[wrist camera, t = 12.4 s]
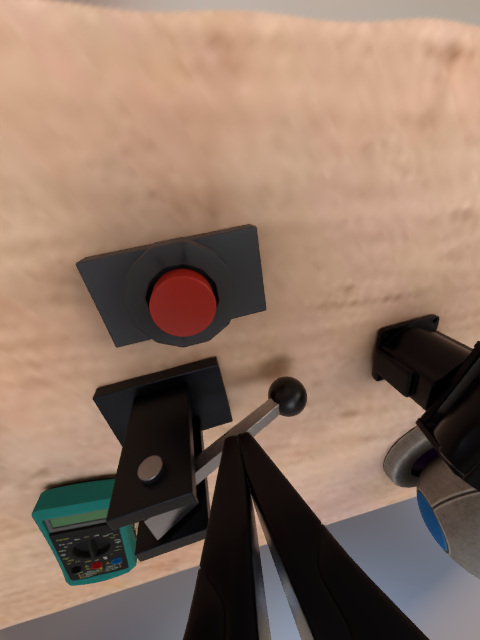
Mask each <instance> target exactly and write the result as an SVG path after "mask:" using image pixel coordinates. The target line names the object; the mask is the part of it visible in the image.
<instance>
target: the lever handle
mask: <svg viewBox="0 0 480 640" xmlns="http://www.w3.org/2000/svg"><path fill="white" fill-rule="evenodd" d="M268 399H269V400H267V401H266V402H265V403H264V404H262V405H261V406H260V407H258V408H257V409H256V410H255V411H253V412H252V413H251V414H250V415H248V416H247V417H246V418H244V419H243V420H242V421H241V422H239V423H238V424H237V425H236V426H234V427H233V428H232V429H230V430H229V431H228V432H227V433H225V434H224V435H223V436H222V437H220V438H219V439H218V440H216V441H215V442H214V443H213V444H211V445H210V446H209V447H208V448H206V449H205V450H204V451H202V452H201V453H200V454H199V455H197V456H196V457H195V458H194V462H195V479H196V485H198V484H199V483H200V482H201V481H202V480H203V479H205V478H206V477H207V476H208V475H209V474H210V473H212V472H213V471H214V470H215V469H216V468H217V467H219V465H220V460H221V455H222V450H223V445H224V440H225V438H226V437H229V436H232V435H236V436H237V435H238V434H239V433H242V432H246V431H248V432H249V433H250V434H251V435H252V436H253V437H254V436H255V435H256V434H257V433H258V432H260V431H261V430H262V429H263V428H264V427H265V426H267V425H268V424H269V423H270V422H271V421H272V420H274V419H275V418H276V417H277V416H278V415H282V416H287V417H291V416H295V415H297V414H299V413H300V412H301V411H302V410H303V409H304V408H305V406H306V403H307V393H306V390H305V388H304V386H303V385H302V383H301V382H300V381H298V380H297V379H295V378H292V377H281V378H278V379H276V380H275V381H274V382H273V383H272V384H271V386H270V388H269V392H268ZM238 443H239V442H238ZM239 447H240V446H239ZM198 504H199V502H198V500H197V501H196V502H195V503H193V504H190V505H187V506H184V507H181V508H178V509H175V510H172V511H169V512H166V513H163V514H160V515H157V516H154V517H151V518H148V519H145V520H144V522H145V524H146V525H147V527H148V528H149V529H150V531H151V532H152V534H153V535H154V536H155V538H156V539H157V540H159V539H160V538H161V537H162V536H163V535H164V534H165V533H166V532H168V531H169V530H170V529H171V528H172V527H173V526H174V525H175V524H176V523H178V522H179V521H180V520H181V519H182V518H183V517H184V516H185V515H186V514H188V513H189V512H190V511H191V510H192V509H193V508H194V507H195V506H196V505H198Z"/></svg>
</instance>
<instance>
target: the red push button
mask: <svg viewBox="0 0 480 640" xmlns="http://www.w3.org/2000/svg"><path fill="white" fill-rule="evenodd" d="M149 309H150V314H151V317H152V319H153V321H154V322H155V324H156V325H157V326H158V327H159V328H160V329H161V330H163V331H164V332H166V333H168V334H171V335H174V336H180V337H186V336H192V335H195V334H198V333H200V332H202V331H203V330H205V329H206V328H207V327H208V326H209V325H210V324H211V322H212V321H213V319H214V316H215V313H216V300H215V296H214V294H213V291H212V288H211V286H210V284H209V282H208V281H207V280H206V278H205V277H203V276H202V275H201V274H199V273H198V272H196V271H193V270H190V269H174V270H171V271H169V272H167V273H165V274H163V275H162V276H161V277H160V278H159V279H158V280H157V282H156V283H155V285H154V288H153V291H152V295H151V298H150V303H149Z"/></svg>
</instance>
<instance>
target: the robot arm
mask: <svg viewBox="0 0 480 640" xmlns="http://www.w3.org/2000/svg"><path fill="white" fill-rule="evenodd" d="M438 322H439V317H438V316H436V315H434V314H433V315H429V316H425V317H422V318H418V319H414V320H411V321H407V322H404V323H400V324H396V325H393V326H389V327H385V328H382V329H381V330H380V331H379V332H378V338H377V346H376V354H375V361H374V369H373V379H375V380H376V381H381V380H384V379H385V380H386V381H387V382H388V383H390V384H391V385H392V386H393V387H394V388H395V389H396V390H398V391H399V392H400V393H401V394H402V395H403V396H405V397H410V398H411V399H413V400H414V401H415V402H416V403H417V404H419V405H420V406H421V407H422V408H423V409H424V410H426V411H425V413H424V414H423V415H422V417H421V418H418V420H417V421H416V424H417V426H418V427H419V428H420V430H421V431H422V433H423V434H424V435H425V437H426V438H427V439H428V440H429V442H430V443H431V444H432V446H433V447H434V448H435V450H436V451H437V452H438V454H439V455H440V456H441V458H442V459H443V460H444V462H445V463H446V464H447V465H448V467H449V468H450V469H451V471H452V472H453V473H454V474H455V475H456V476H458V477H460V478H461V479H462V480H463V481H465V482H466V483H467V484H469V485H470V486H472V487H473V488H475V489H476V490H478V491H480V341H477V343H476V344H475V345H474V347H475V348H474V349H472V348H470V347H468V346H466V345H464V344H462V343H460V342H458V341H456V340H454V339H452V338H450V337H448V336H446V335H444V334H442V333H440V332H439V331H437V326H438ZM238 442H239V443H238ZM239 446H240V447H239ZM245 471H246V472H245ZM246 475H247V476H246ZM251 496H252V497H251ZM252 500H253V502H252ZM253 503H254V506H255V509H256V512H257V515H258V518H259V521H260V524H261V527H262V529H263V532H264V535H265V538H266V541H267V544H268V546H269V549H270V552H271V555H272V558H273V560H274V563H275V566H276V569H277V572H278V575H279V577H280V580H281V583H282V586H283V589H284V592H285V594H286V597H287V600H288V603H289V605H290V608H291V611H292V614H293V617H294V619H295V623H296V625H297V628H298V631H299V634H300V637H301V639H302V640H429V639H428V638H427V637H426V636H425V635H424V634H423V632H422V631H421V630H420V629H419V628H418V627H417V626H416V625H415V624H414V623H413V622H412V621H411V620H410V619H409V618H408V617H407V616H406V615H405V614H404V613H403V612H402V611H401V610H400V609H399V608H398V607H397V606H396V605H395V604H394V603H393V602H392V601H391V600H390V598H389V597H388V596H387V595H386V594H385V593H383V591H382V590H381V589H380V588H379V587H378V586H377V585H376V584H375V583H374V582H373V581H372V580H371V579H370V578H369V577H368V576H367V575H366V573H365V572H364V571H363V570H362V569H361V568H360V567H359V566H358V565H357V564H356V563H355V562H354V561H353V559H352V558H351V557H350V556H349V555H348V554H347V552H346V551H345V550H344V549H343V548H342V546H341V545H340V544H339V543H338V542H337V541H336V539H335V538H334V537H333V536H332V534H331V533H330V532H329V531H328V530H327V528H326V527H325V526H324V525H323V524H322V525H321V521H320V520H319V519H318V517H317V516H316V515H315V514H314V512H313V511H312V510H311V509H310V507H309V506H308V505H307V504H306V502H305V501H304V500H303V499H302V497H301V496H300V495H299V494H298V492H297V491H296V490H295V489H294V487H293V486H292V485H291V484H290V482H289V481H288V480H287V479H286V477H285V476H284V475H283V474H282V472H281V471H280V470H279V469H278V467H277V466H276V465H275V464H274V462H273V461H272V460H271V459H270V457H269V456H268V455H267V454H266V453H265V451H264V450H263V449H262V448H261V446H260V445H259V444H258V443H257V441H256V440H255V439H254V438H253V436H252V435H251V434H250V433H249V432H248V431H246V432H242V433H239V434H238V435H237V436H236V435H232V436H229V437H226V438H225V440H224V445H223V450H222V455H221V460H220V465H219V470H218V475H217V480H216V485H215V490H214V495H213V501H212V506H211V511H210V516H209V521H208V526H207V531H206V536H205V541H204V546H203V551H202V556H201V561H200V567H201V568H200V569H199V571H198V576H197V581H196V586H195V591H194V595H193V600H192V604H191V609H190V613H189V618H188V622H187V626H186V630H185V634H184V638H183V640H271V635H270V627H269V619H268V612H267V604H266V597H265V590H264V582H263V575H262V567H261V559H260V552H259V544H258V536H257V529H256V521H255V514H254V507H253Z"/></svg>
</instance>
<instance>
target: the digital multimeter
mask: <svg viewBox="0 0 480 640" xmlns="http://www.w3.org/2000/svg"><path fill="white" fill-rule="evenodd" d="M114 482H115V478H114V479H105V480H97V481H90V482H83V483H77V484H72V485H66V486H61V487H57V488H52V489H49V490H46V491H44V492H43V493H41V495H40V497H39V500H38V502H37V504H36V506H35V508H34V510H33V512H32V517H33V519H34V520H35V522H36V524H37V525H38V527H39V529H40V530H41V532H42V533H43V535H44V537H45V538H46V540H47V542H48V544H49V545H50V547H51V549H52V551H53V553H54V555H55V557H56V559H57V561H58V563H59V565H60V567H61V569H62V571H63V574H64V577H65V580H66V582H67V583H68V584H69V585H71V586H74V585H84V584H91V583H96V582H101V581H105V580H108V579H111V578H114V577H117V576H120V575H122V574H125V573H128V572H129V571H130V570H131V569H133V568H134V567H135V566H136V563H137V557H136V556H135V549H136V538H135V535H134V531H133V527H132V524H131V525H128V526H125V527H122V528H119V529H116V530H112V528H111V527H110V526H109V525H108V524H107V523H106V517H107V513H108V509H109V504H110V500H111V496H112V491H113V487H114Z"/></svg>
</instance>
